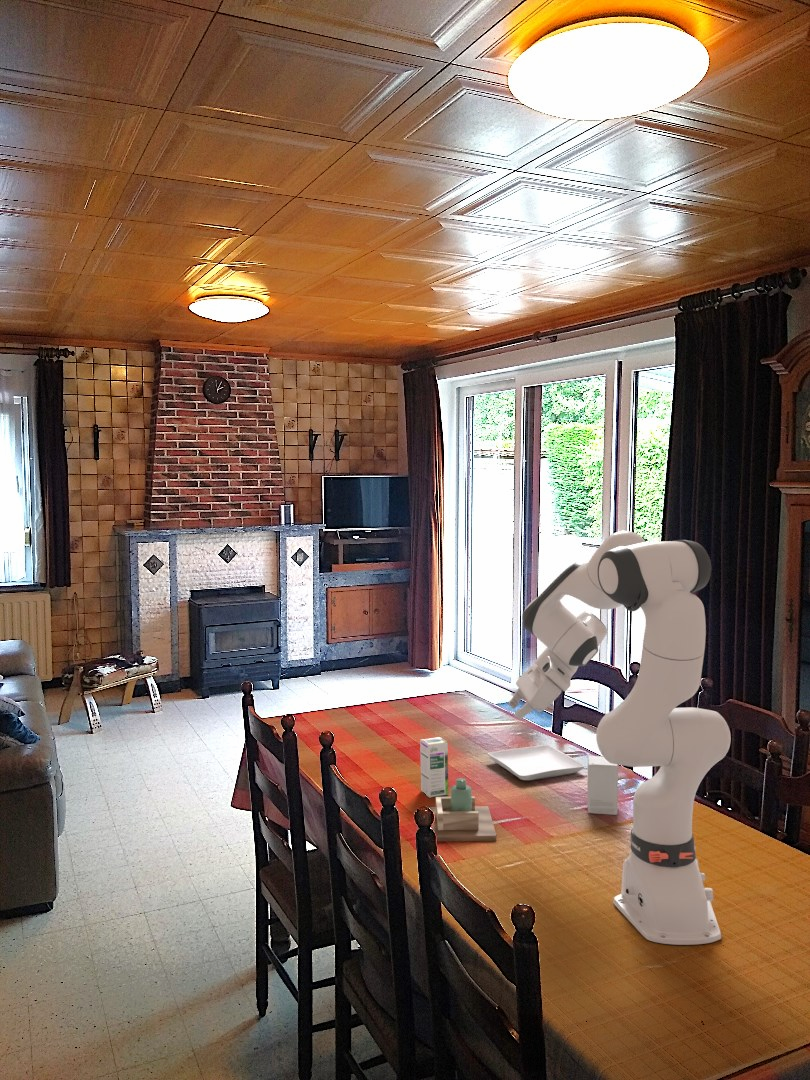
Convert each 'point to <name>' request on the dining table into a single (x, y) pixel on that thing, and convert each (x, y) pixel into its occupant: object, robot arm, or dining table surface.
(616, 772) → the supplement box
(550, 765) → the salad plate
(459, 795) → the green bottle
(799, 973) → the dining table surface
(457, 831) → the u rest
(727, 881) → the dining table surface
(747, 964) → the dining table surface
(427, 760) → the syrup box
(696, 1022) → the dining table surface
